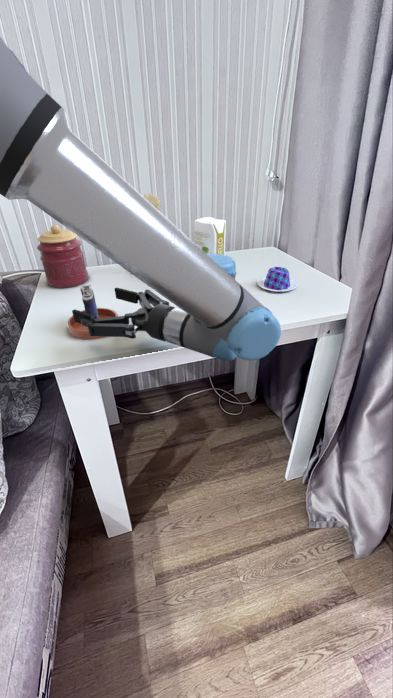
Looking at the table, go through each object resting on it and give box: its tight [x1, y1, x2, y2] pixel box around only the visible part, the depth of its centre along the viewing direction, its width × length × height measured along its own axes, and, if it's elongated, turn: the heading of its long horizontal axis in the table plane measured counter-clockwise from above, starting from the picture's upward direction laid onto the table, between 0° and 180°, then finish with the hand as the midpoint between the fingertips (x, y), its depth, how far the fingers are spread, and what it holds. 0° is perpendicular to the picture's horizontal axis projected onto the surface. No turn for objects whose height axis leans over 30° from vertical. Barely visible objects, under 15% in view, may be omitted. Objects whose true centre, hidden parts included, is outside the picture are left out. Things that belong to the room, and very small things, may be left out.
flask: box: [80, 284, 99, 318], centre depth 78 cm, size 9×3×11 cm, turn 21°
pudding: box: [256, 266, 298, 292], centre depth 99 cm, size 12×12×5 cm
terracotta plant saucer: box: [67, 307, 119, 340], centre depth 80 cm, size 12×12×2 cm
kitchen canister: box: [36, 224, 89, 289], centre depth 101 cm, size 13×13×18 cm
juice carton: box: [193, 216, 227, 255], centre depth 99 cm, size 8×9×19 cm
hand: (96, 303), depth 76 cm, fingers open, 13 cm apart
